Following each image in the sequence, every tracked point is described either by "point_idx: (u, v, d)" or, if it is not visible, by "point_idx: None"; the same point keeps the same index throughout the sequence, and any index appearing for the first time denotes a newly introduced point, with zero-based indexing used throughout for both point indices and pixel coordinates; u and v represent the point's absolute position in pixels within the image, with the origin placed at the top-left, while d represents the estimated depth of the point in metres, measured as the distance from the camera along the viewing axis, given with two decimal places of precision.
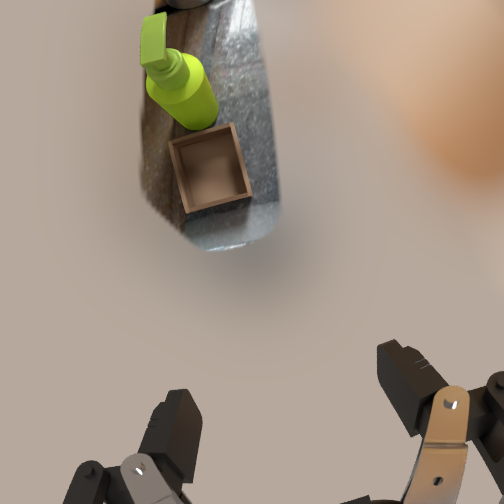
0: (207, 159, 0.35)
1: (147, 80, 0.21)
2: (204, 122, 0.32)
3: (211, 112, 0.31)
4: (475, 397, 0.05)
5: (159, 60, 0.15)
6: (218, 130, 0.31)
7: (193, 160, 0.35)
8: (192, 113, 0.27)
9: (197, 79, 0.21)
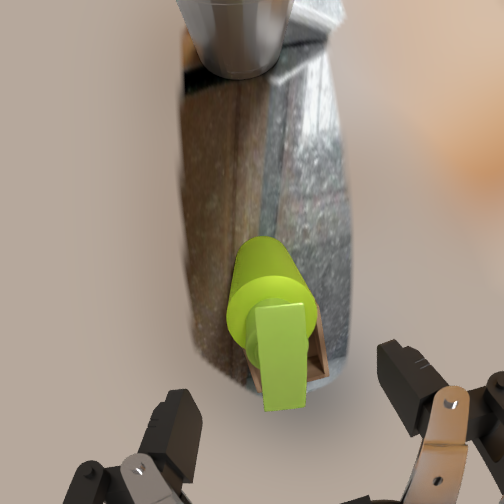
0: None
1: (229, 318, 0.17)
2: None
3: None
4: (475, 397, 0.05)
5: (296, 406, 0.11)
6: None
7: None
8: None
9: (308, 326, 0.17)
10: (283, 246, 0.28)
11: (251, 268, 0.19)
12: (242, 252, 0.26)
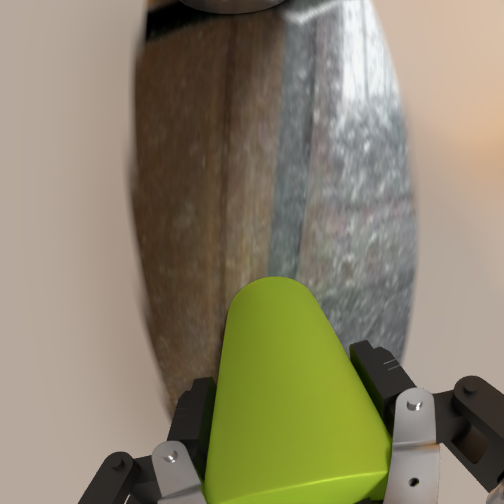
0: None
1: None
2: None
3: None
4: (442, 400, 0.06)
5: None
6: None
7: None
8: None
9: None
10: (312, 297, 0.15)
11: (260, 412, 0.06)
12: (238, 317, 0.13)
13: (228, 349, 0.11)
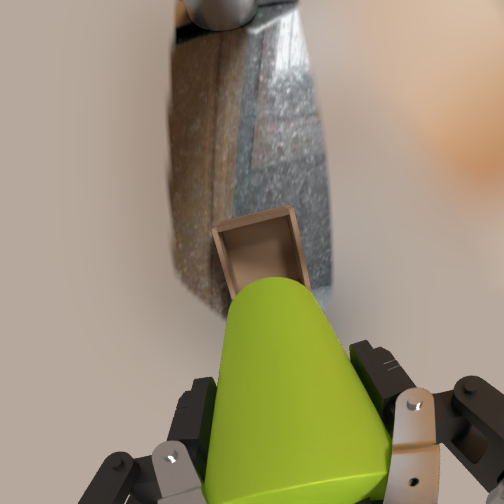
0: (255, 242, 0.32)
1: None
2: None
3: None
4: (442, 400, 0.06)
5: None
6: None
7: (238, 242, 0.32)
8: None
9: None
10: (312, 297, 0.15)
11: (260, 413, 0.06)
12: (238, 318, 0.13)
13: (228, 350, 0.11)
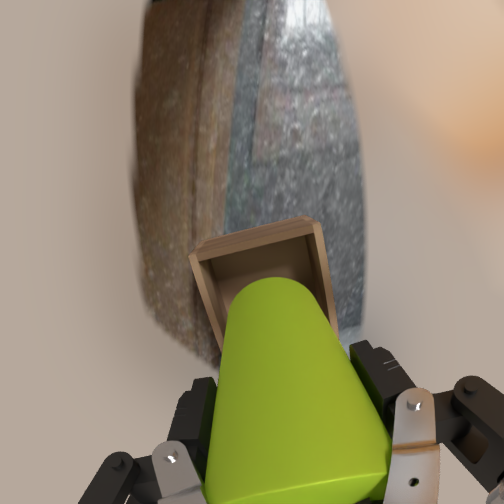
0: (257, 270, 0.21)
1: None
2: None
3: None
4: (442, 400, 0.06)
5: None
6: None
7: (233, 271, 0.21)
8: None
9: None
10: (312, 298, 0.15)
11: (261, 413, 0.06)
12: (238, 318, 0.13)
13: (228, 350, 0.11)
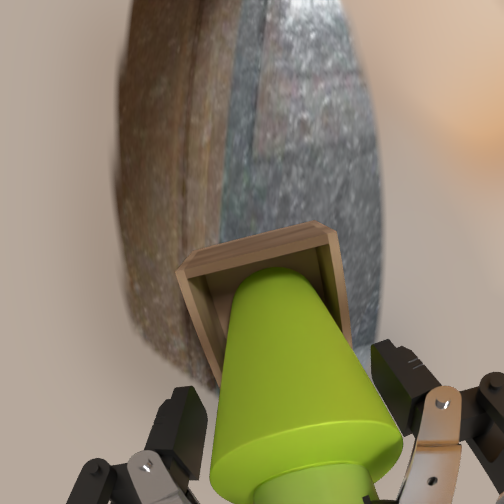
0: None
1: (215, 483, 0.06)
2: None
3: None
4: (468, 397, 0.05)
5: None
6: None
7: (230, 286, 0.18)
8: None
9: (377, 477, 0.06)
10: (311, 286, 0.17)
11: (266, 371, 0.08)
12: (243, 301, 0.14)
13: (235, 327, 0.12)
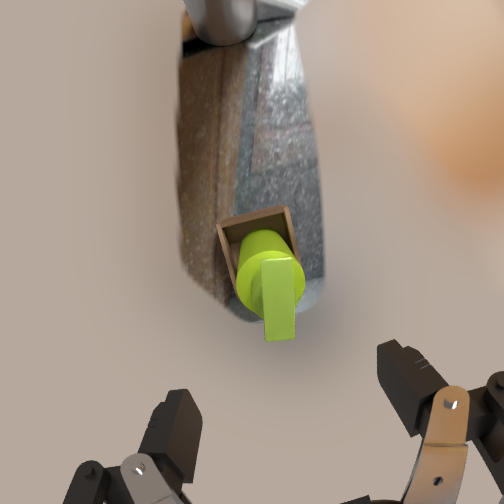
0: None
1: (238, 283, 0.23)
2: None
3: None
4: (475, 397, 0.05)
5: None
6: (271, 214, 0.31)
7: (239, 237, 0.35)
8: None
9: (298, 291, 0.23)
10: (280, 236, 0.34)
11: (255, 247, 0.25)
12: (246, 239, 0.32)
13: (243, 247, 0.30)
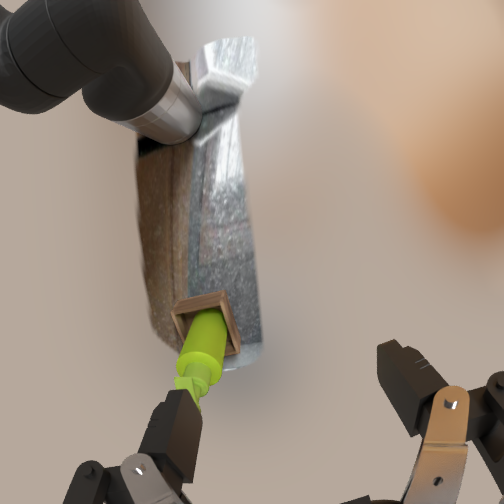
0: None
1: (177, 368, 0.32)
2: None
3: None
4: (475, 397, 0.05)
5: None
6: None
7: (192, 314, 0.44)
8: None
9: (217, 375, 0.32)
10: (221, 316, 0.43)
11: (190, 342, 0.34)
12: (193, 322, 0.41)
13: (189, 331, 0.39)
